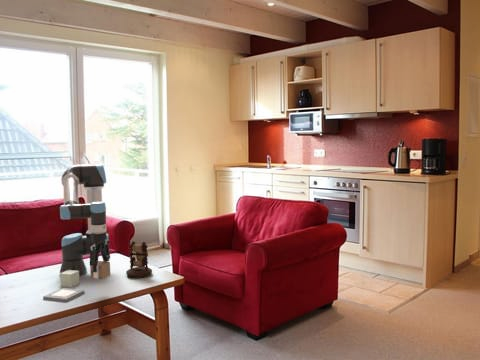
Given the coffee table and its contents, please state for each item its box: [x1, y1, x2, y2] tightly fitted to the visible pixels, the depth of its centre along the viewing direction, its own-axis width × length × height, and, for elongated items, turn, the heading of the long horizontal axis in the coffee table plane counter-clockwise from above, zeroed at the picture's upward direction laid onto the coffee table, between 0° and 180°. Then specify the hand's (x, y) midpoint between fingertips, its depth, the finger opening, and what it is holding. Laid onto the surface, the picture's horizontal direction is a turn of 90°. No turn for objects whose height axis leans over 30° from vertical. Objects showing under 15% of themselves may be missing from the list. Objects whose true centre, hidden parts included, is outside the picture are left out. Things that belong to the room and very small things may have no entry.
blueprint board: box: [42, 287, 85, 303], centre depth 239 cm, size 14×14×2 cm
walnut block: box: [89, 260, 111, 280], centre depth 241 cm, size 7×7×7 cm
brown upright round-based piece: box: [125, 240, 153, 279], centre depth 273 cm, size 15×15×20 cm
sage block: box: [59, 270, 80, 288], centre depth 258 cm, size 7×7×7 cm
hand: (100, 275), depth 242 cm, fingers closed on walnut block, 7 cm apart
